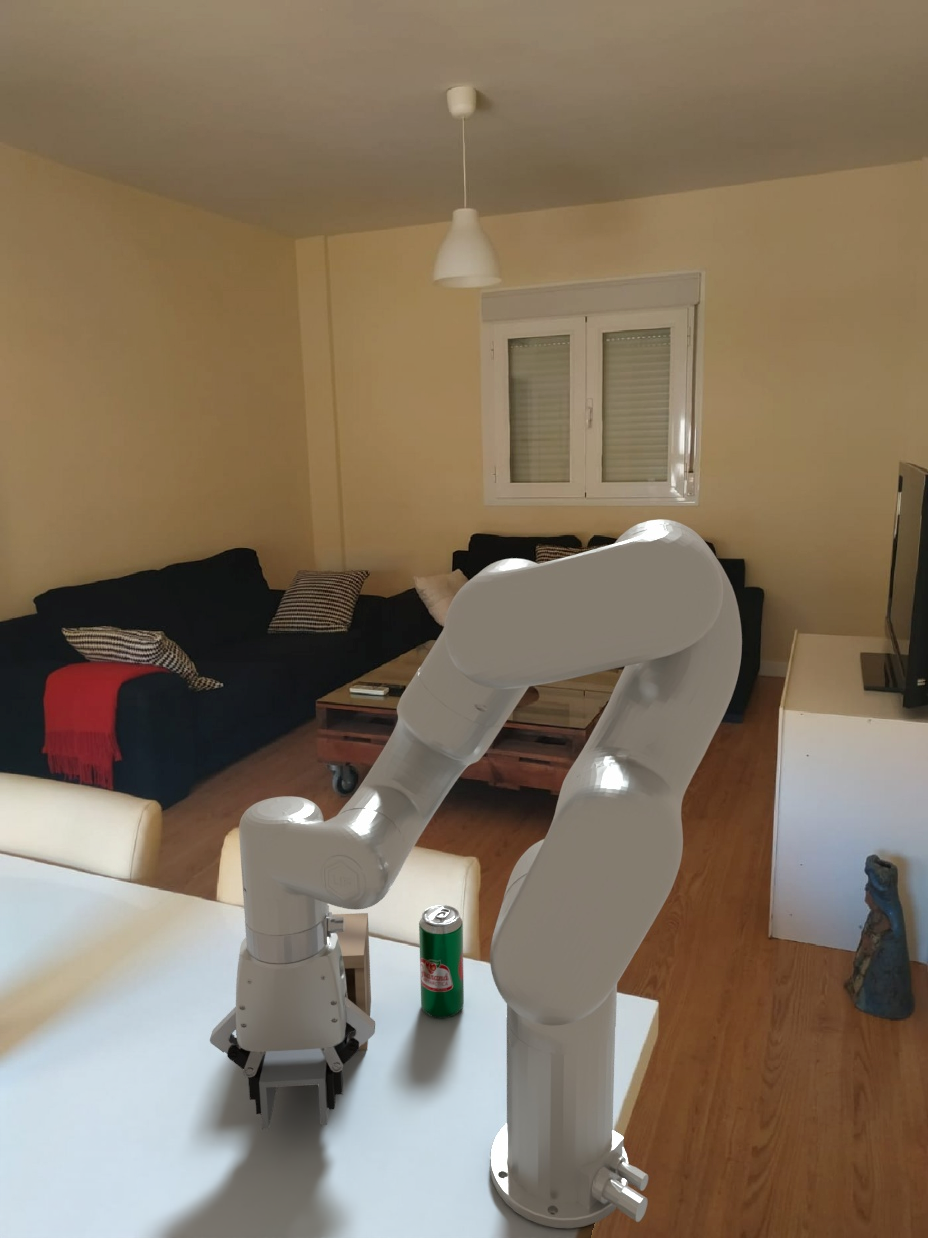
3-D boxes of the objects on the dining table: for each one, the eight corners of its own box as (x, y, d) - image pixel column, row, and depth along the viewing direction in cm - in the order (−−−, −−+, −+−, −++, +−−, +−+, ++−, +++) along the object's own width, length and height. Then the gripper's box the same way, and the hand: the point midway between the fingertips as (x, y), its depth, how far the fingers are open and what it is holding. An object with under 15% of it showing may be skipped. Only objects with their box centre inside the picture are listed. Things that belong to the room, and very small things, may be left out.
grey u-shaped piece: (326, 1125, 81) (324, 1078, 80) (262, 1129, 80) (259, 1082, 79) (337, 1026, 94) (336, 985, 93) (282, 1029, 94) (280, 988, 93)
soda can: (413, 1013, 101) (410, 919, 98) (434, 989, 105) (432, 899, 103) (450, 1026, 98) (449, 930, 96) (471, 1001, 103) (470, 909, 100)
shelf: (367, 1049, 95) (363, 955, 92) (257, 1055, 94) (250, 960, 92) (371, 1000, 103) (367, 913, 101) (269, 1005, 102) (264, 917, 100)
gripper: (382, 906, 84) (387, 1068, 87) (202, 914, 82) (215, 1078, 86) (380, 950, 76) (386, 1125, 80) (182, 960, 75) (197, 1137, 79)
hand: (297, 1099), depth 83 cm, fingers closed on grey u-shaped piece, 6 cm apart
